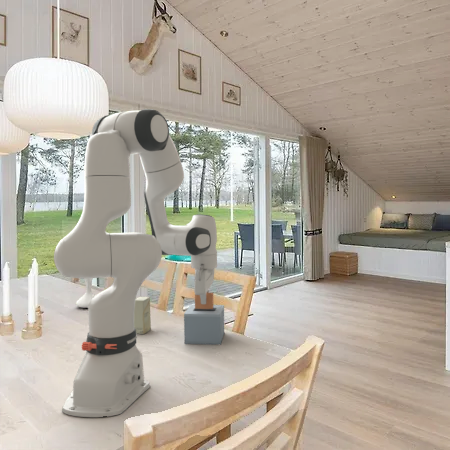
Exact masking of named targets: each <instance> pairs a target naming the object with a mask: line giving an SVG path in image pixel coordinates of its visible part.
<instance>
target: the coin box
mask: <svg viewBox="0 0 450 450" xmlns="http://www.w3.org/2000/svg"><path fill="white" fill-rule="evenodd" d="M183 323H184V324H183V329H184V331H183V334H184V336H183V337H184V338H183V339H184V345H216V344H217V345H219V344H220V345H222V341H223V339H224V336H225V305H224V304H213V309H195V304H190V305H189V306H188V308H187V309H186V311H185V312H184V313H183ZM220 345H219V346H220Z"/></svg>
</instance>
